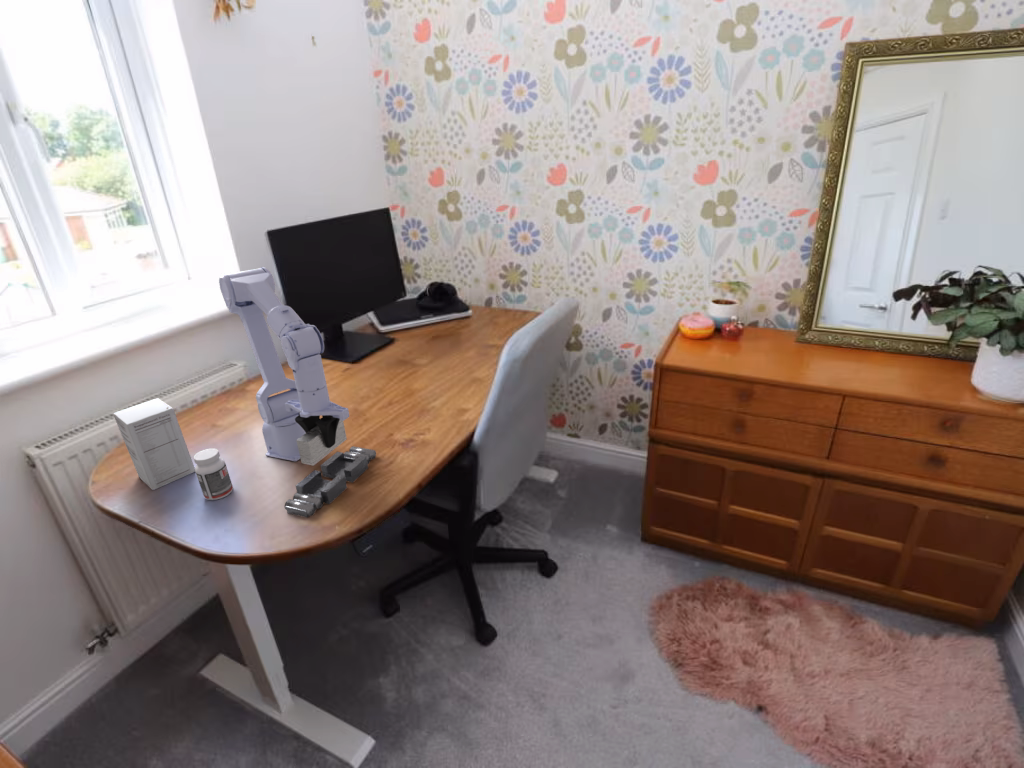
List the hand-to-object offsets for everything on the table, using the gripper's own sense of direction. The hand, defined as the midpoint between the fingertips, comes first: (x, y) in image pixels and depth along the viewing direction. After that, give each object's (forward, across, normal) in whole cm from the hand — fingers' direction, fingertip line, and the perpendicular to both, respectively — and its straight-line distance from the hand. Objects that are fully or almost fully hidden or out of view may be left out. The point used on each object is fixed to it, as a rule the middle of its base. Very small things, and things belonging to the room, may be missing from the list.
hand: (324, 444), depth 112 cm
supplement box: (+10, -40, -9) cm, 42 cm away
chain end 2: (+10, 0, +7) cm, 12 cm away
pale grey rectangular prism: (+2, 0, 0) cm, 2 cm away
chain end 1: (+10, 0, -6) cm, 12 cm away
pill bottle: (+10, -22, -11) cm, 26 cm away
